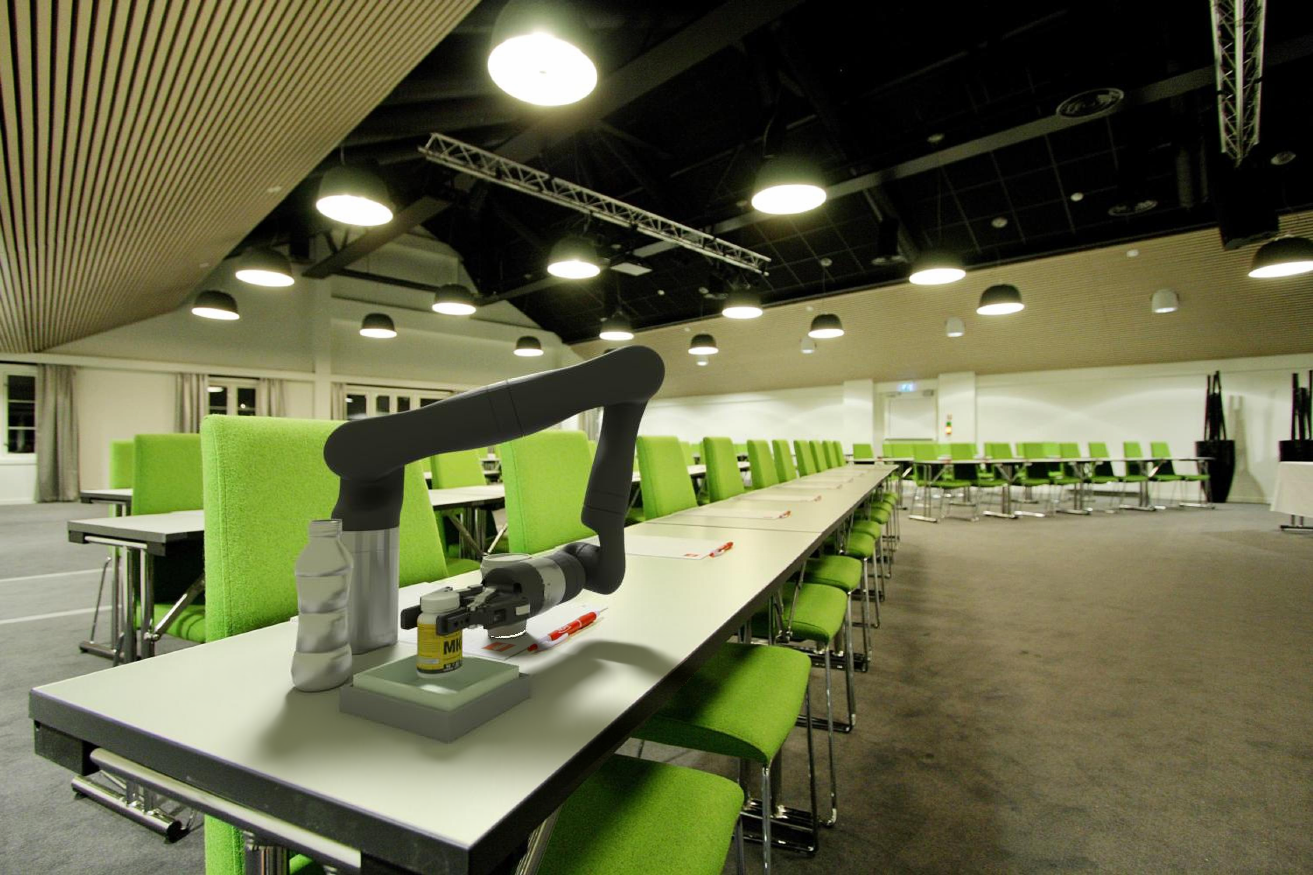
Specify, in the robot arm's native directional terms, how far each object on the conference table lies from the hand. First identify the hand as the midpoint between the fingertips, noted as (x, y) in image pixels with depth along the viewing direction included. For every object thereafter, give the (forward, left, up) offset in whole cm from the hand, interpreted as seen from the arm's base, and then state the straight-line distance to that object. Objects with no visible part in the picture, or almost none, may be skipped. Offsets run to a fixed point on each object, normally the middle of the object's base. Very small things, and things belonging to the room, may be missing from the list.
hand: (420, 623), depth 62 cm
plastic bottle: (-17, +1, -10) cm, 20 cm away
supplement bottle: (0, +3, -6) cm, 7 cm away
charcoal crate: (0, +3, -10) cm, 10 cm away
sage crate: (0, +3, -9) cm, 10 cm away
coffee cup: (-12, +28, -10) cm, 32 cm away
